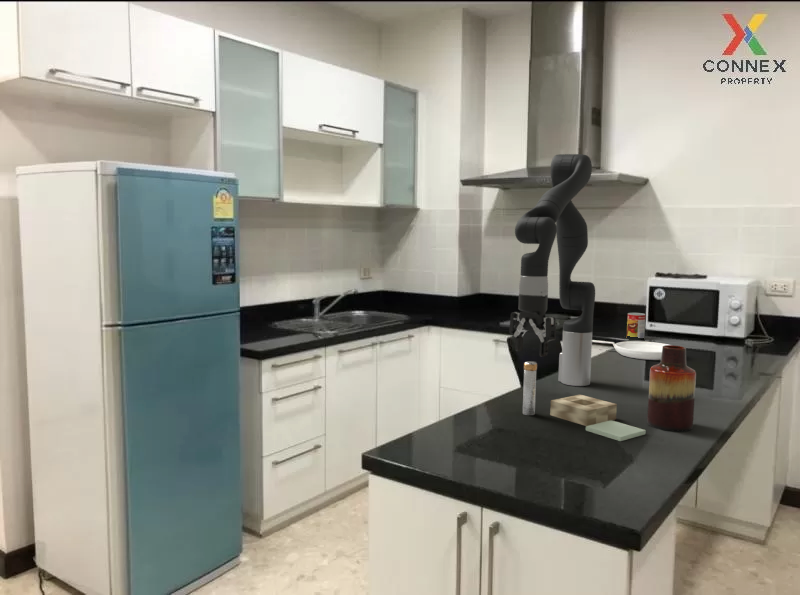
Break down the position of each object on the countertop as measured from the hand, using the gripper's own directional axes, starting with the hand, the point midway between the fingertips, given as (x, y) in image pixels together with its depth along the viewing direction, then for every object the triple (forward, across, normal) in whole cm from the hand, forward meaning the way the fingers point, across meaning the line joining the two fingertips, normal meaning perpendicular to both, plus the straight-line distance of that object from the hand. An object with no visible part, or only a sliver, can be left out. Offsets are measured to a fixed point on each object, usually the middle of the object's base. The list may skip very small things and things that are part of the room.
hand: (530, 353), depth 171 cm
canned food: (+15, -62, +139) cm, 153 cm away
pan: (+16, -40, +102) cm, 111 cm away
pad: (+16, +23, +6) cm, 29 cm away
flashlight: (+16, 0, 0) cm, 17 cm away
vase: (+17, +27, +23) cm, 39 cm away
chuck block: (+16, +10, +10) cm, 22 cm away
